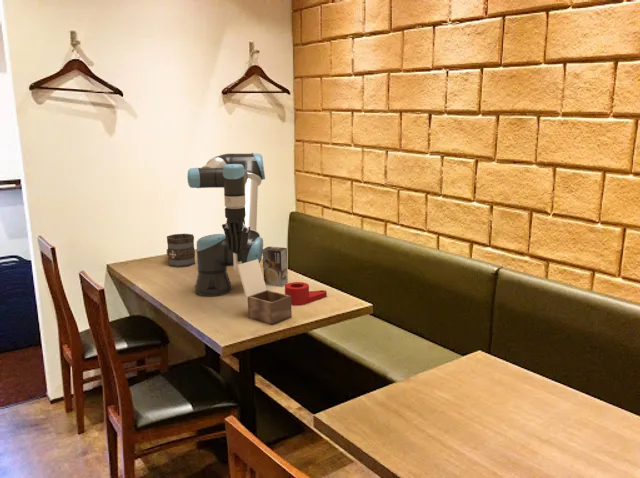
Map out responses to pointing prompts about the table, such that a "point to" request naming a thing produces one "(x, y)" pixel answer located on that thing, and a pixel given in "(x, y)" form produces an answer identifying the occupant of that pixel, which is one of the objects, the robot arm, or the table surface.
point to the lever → (303, 293)
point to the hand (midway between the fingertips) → (237, 269)
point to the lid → (251, 277)
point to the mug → (181, 250)
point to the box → (269, 307)
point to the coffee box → (275, 266)
